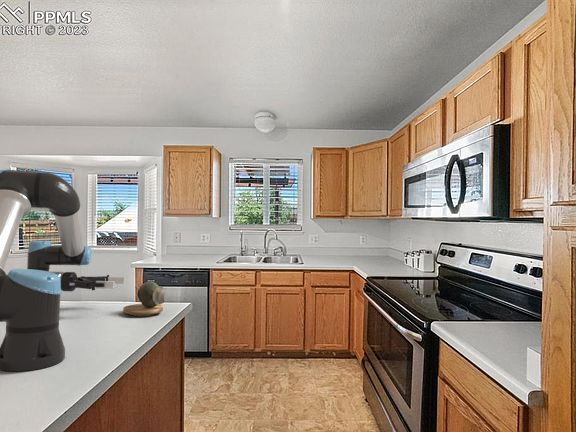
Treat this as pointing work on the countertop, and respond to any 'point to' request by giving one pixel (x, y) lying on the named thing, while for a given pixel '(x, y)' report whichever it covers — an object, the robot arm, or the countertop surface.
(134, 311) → the lazy susan
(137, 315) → the susan base
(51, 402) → the countertop surface
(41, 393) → the countertop surface
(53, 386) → the countertop surface
